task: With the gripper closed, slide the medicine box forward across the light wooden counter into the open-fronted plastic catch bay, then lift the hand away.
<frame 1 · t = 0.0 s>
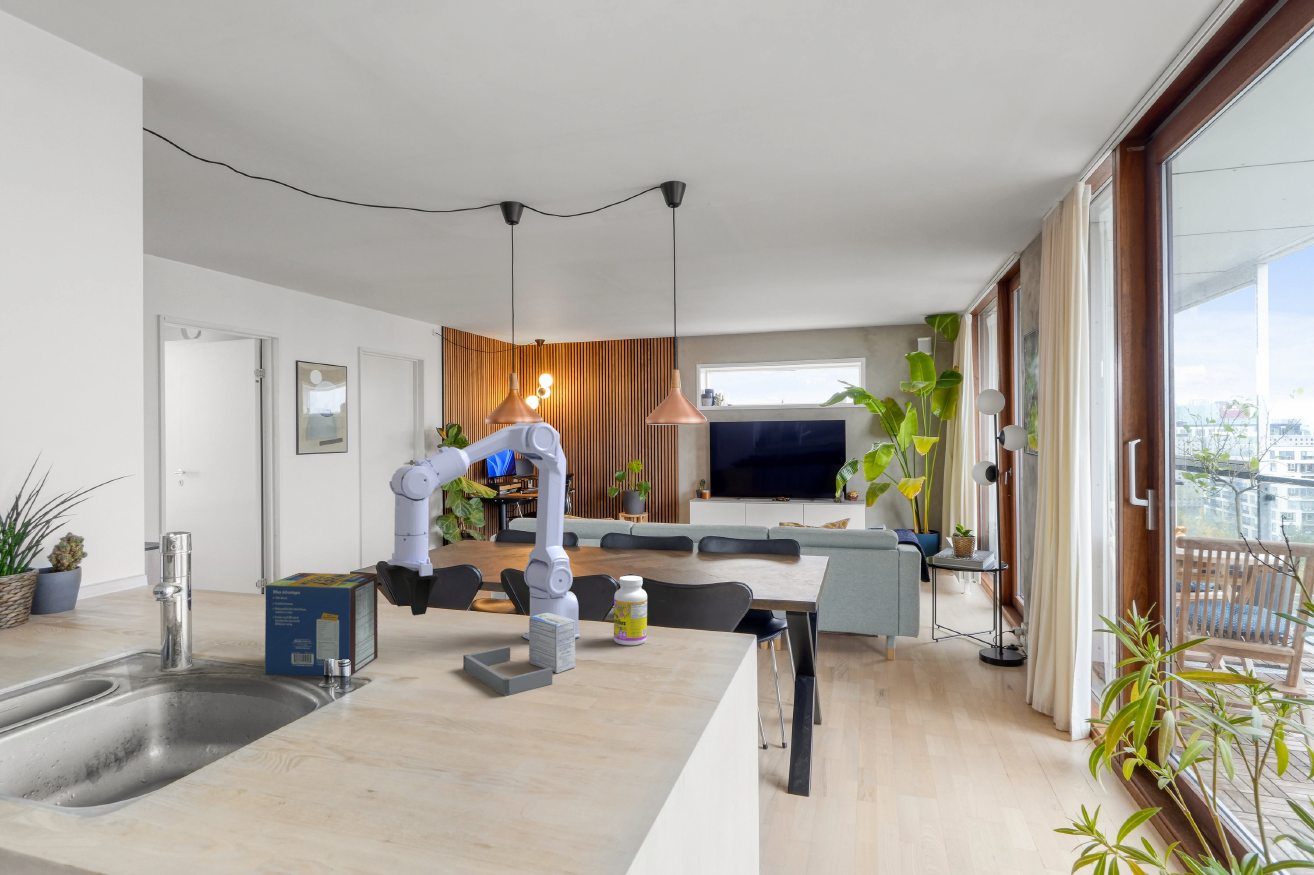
hand: (411, 609, 123), 10 cm above the counter, fingers open, 7 cm apart
supplement bottle: (630, 642, 139), on the counter
catch bay: (506, 676, 119), on the counter
medicine box: (551, 667, 124), on the counter
protein box: (322, 667, 123), on the counter
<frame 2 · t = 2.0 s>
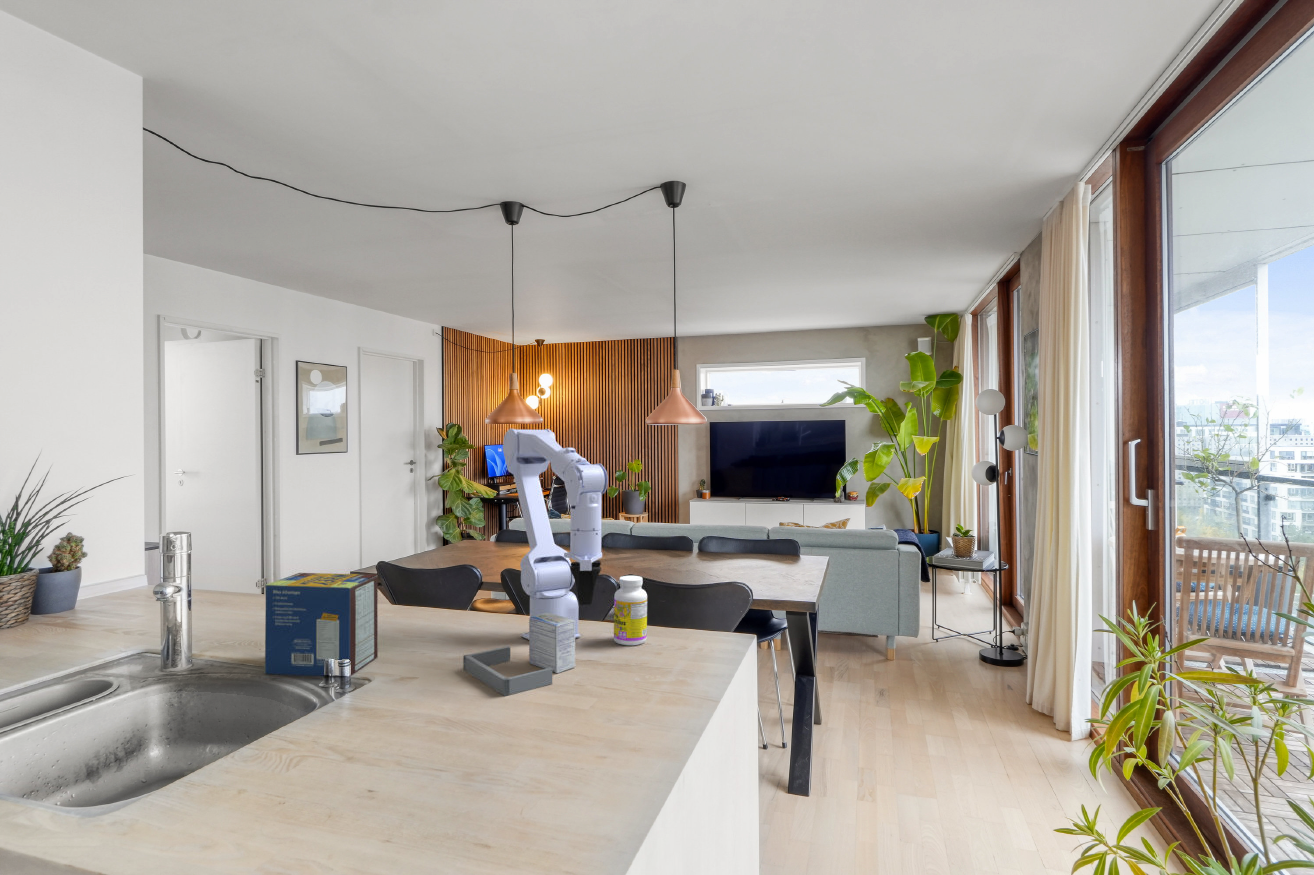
hand: (585, 602, 129), 10 cm above the counter, fingers closed
nothing on the counter moved.
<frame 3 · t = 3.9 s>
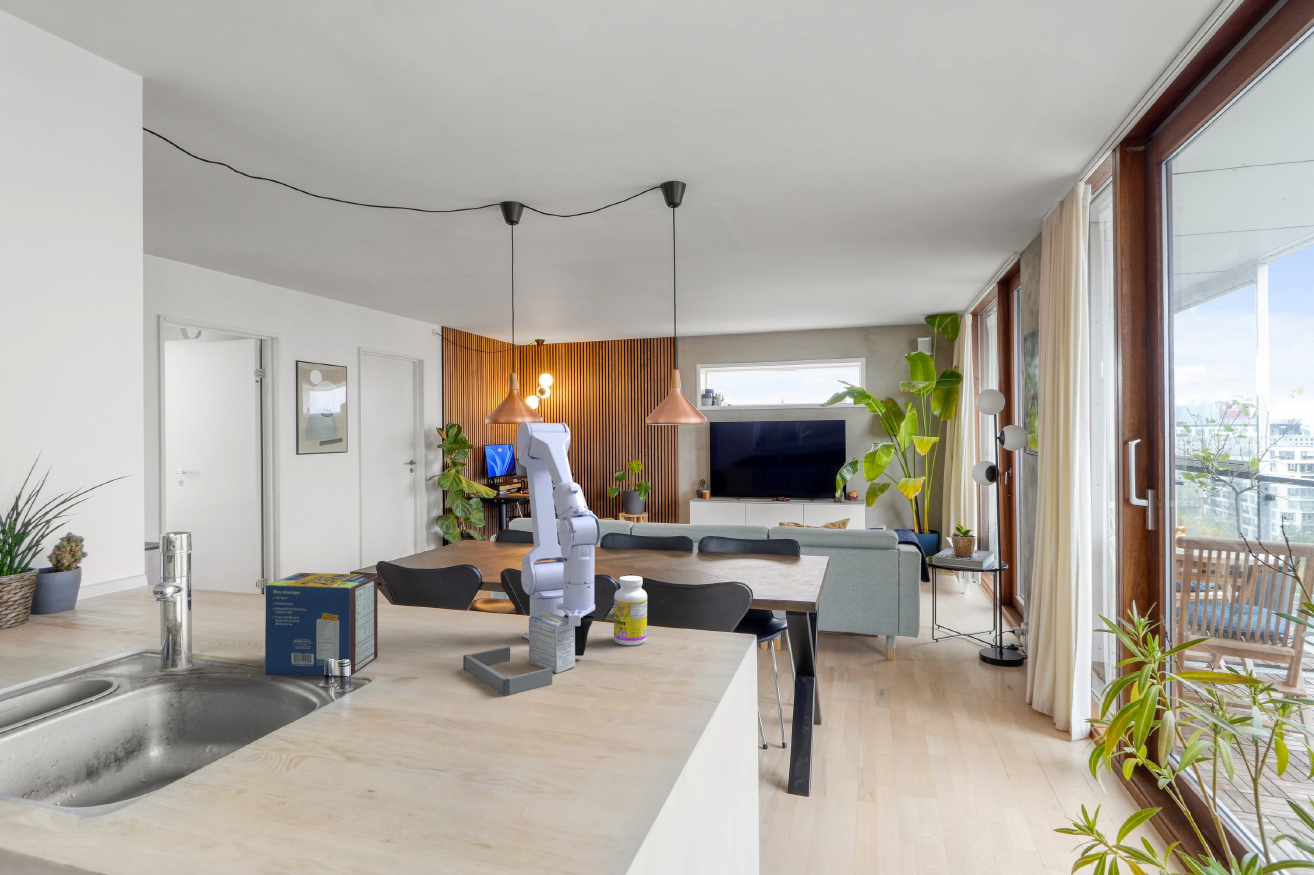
hand: (578, 654, 128), 1 cm above the counter, fingers closed
medicine box: (551, 666, 124), on the counter, touching gripper
everything else where it was.
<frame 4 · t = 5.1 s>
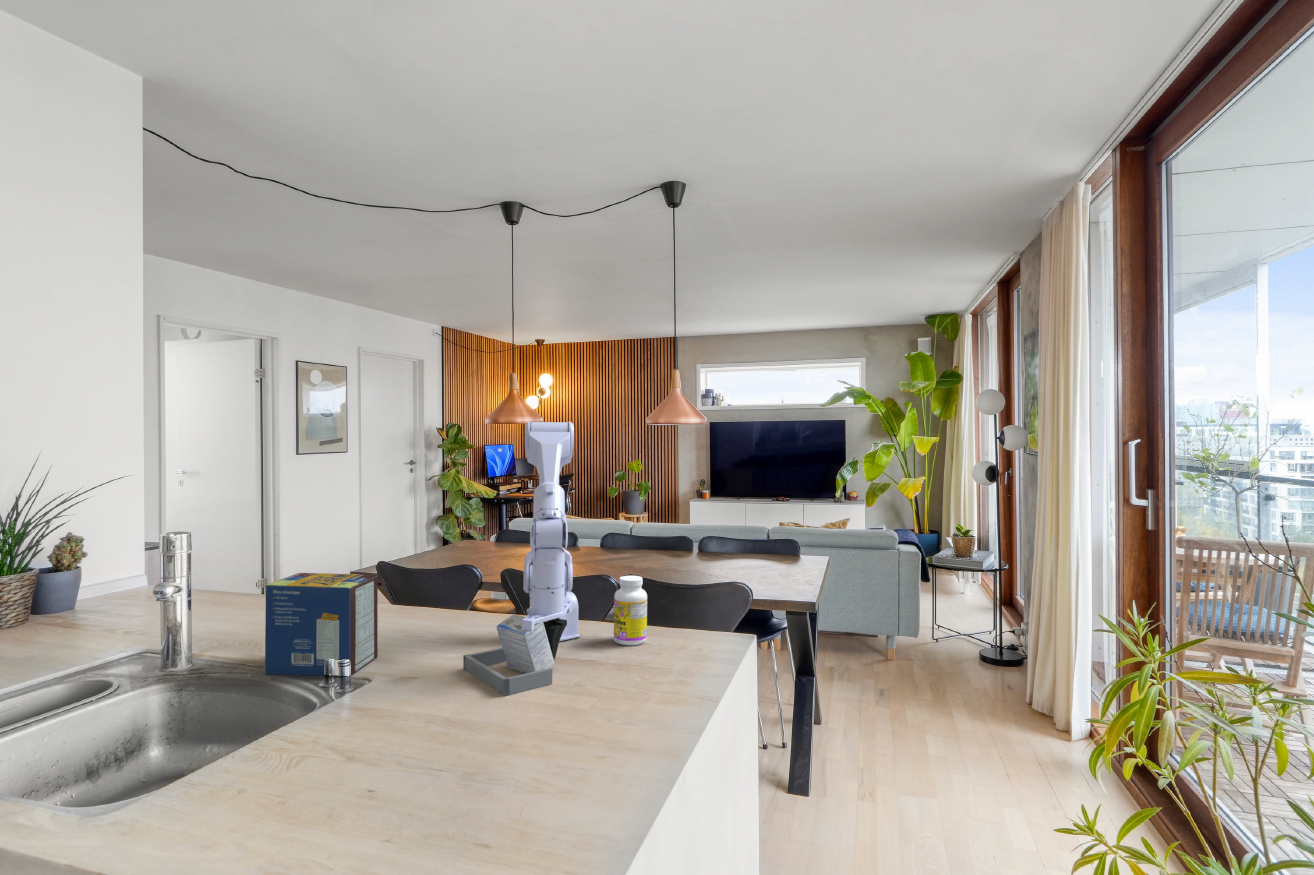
hand: (547, 661, 124), 1 cm above the counter, fingers closed
medicine box: (531, 667, 122), on the counter, touching gripper
everything else where it was.
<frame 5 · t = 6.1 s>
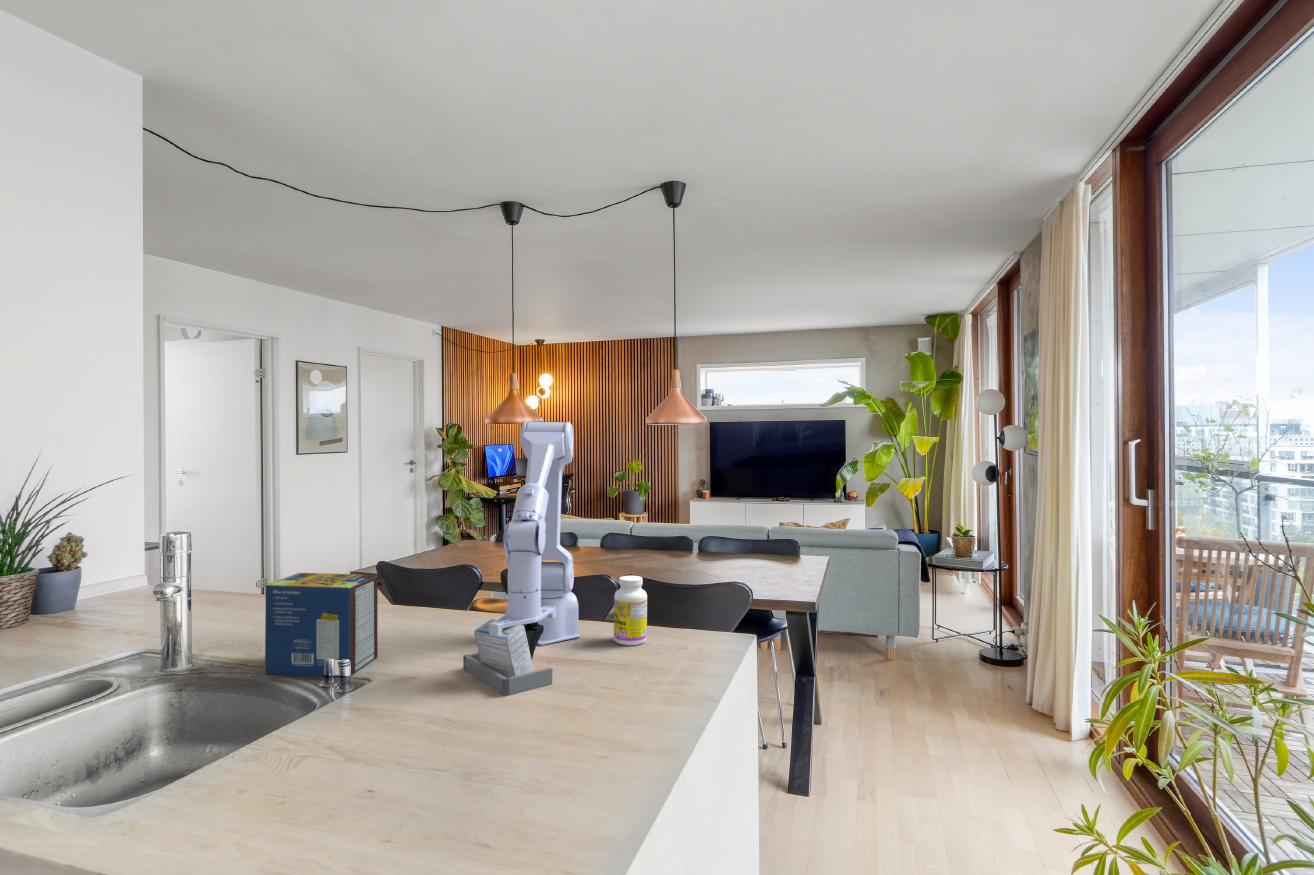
hand: (523, 667, 121), 1 cm above the counter, fingers closed, pressing on medicine box
medicine box: (508, 673, 119), on the counter, touching catch bay, gripper
everything else where it was.
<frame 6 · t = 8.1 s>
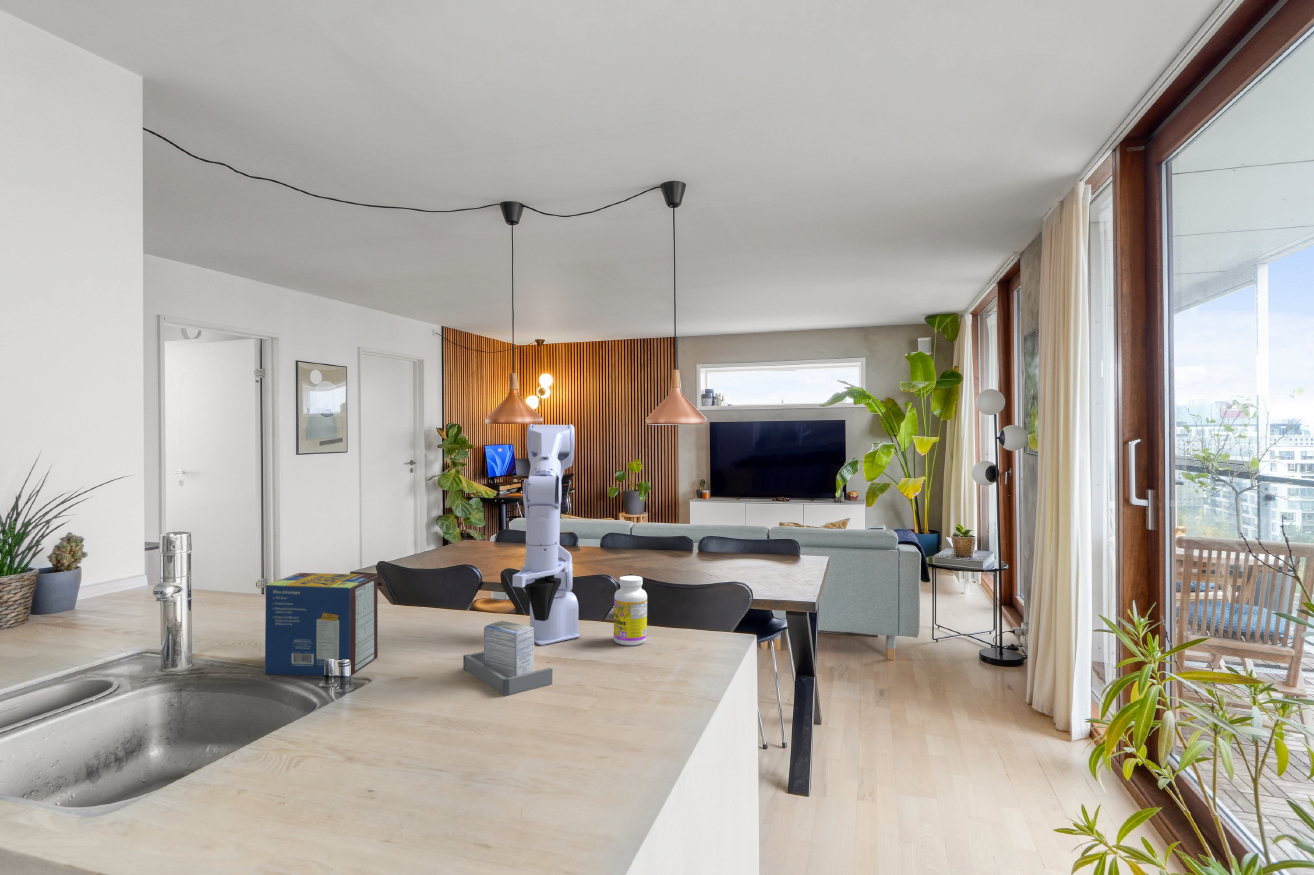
hand: (541, 619, 123), 9 cm above the counter, fingers closed
medicine box: (508, 677, 119), on the counter
everything else where it was.
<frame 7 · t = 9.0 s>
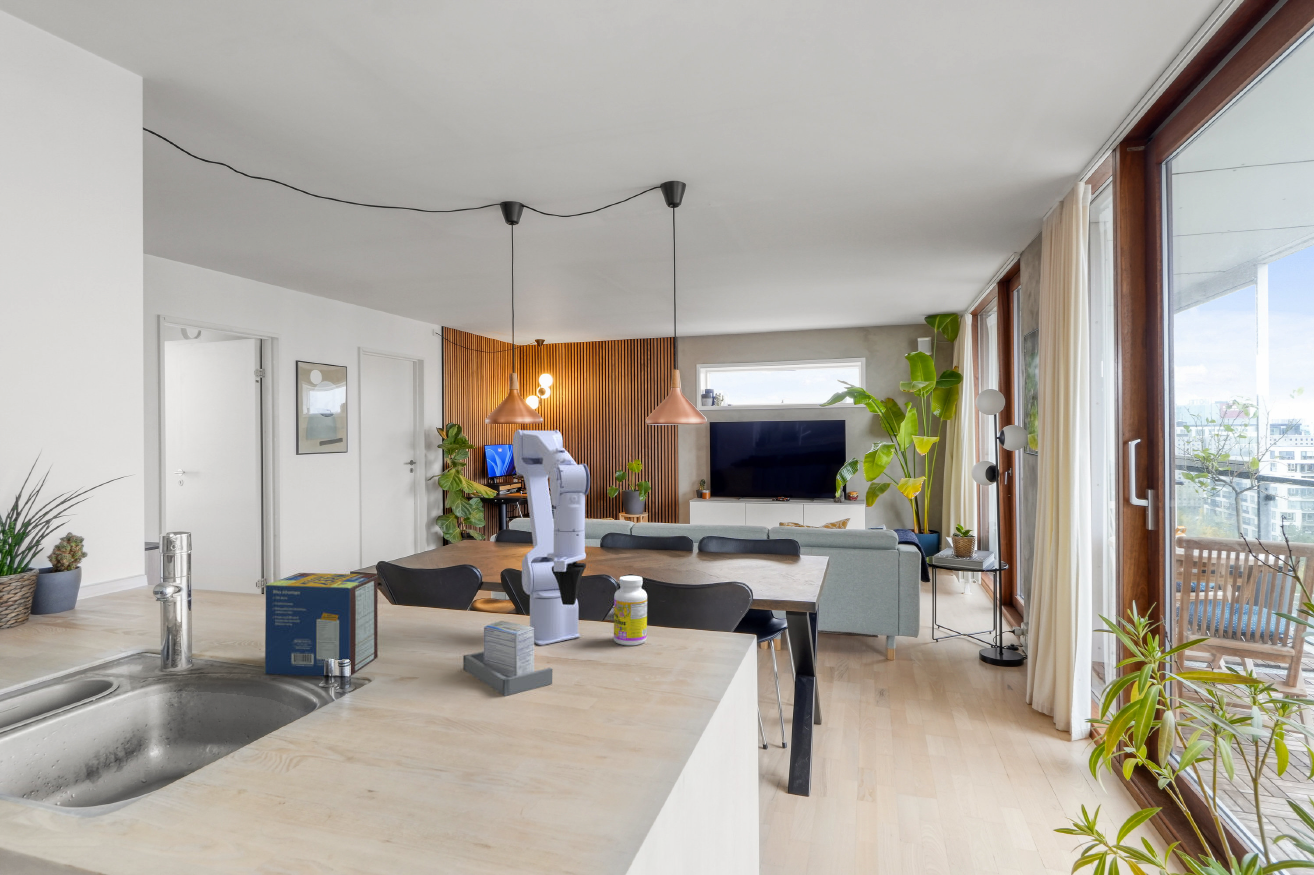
hand: (568, 603, 127), 10 cm above the counter, fingers closed
nothing on the counter moved.
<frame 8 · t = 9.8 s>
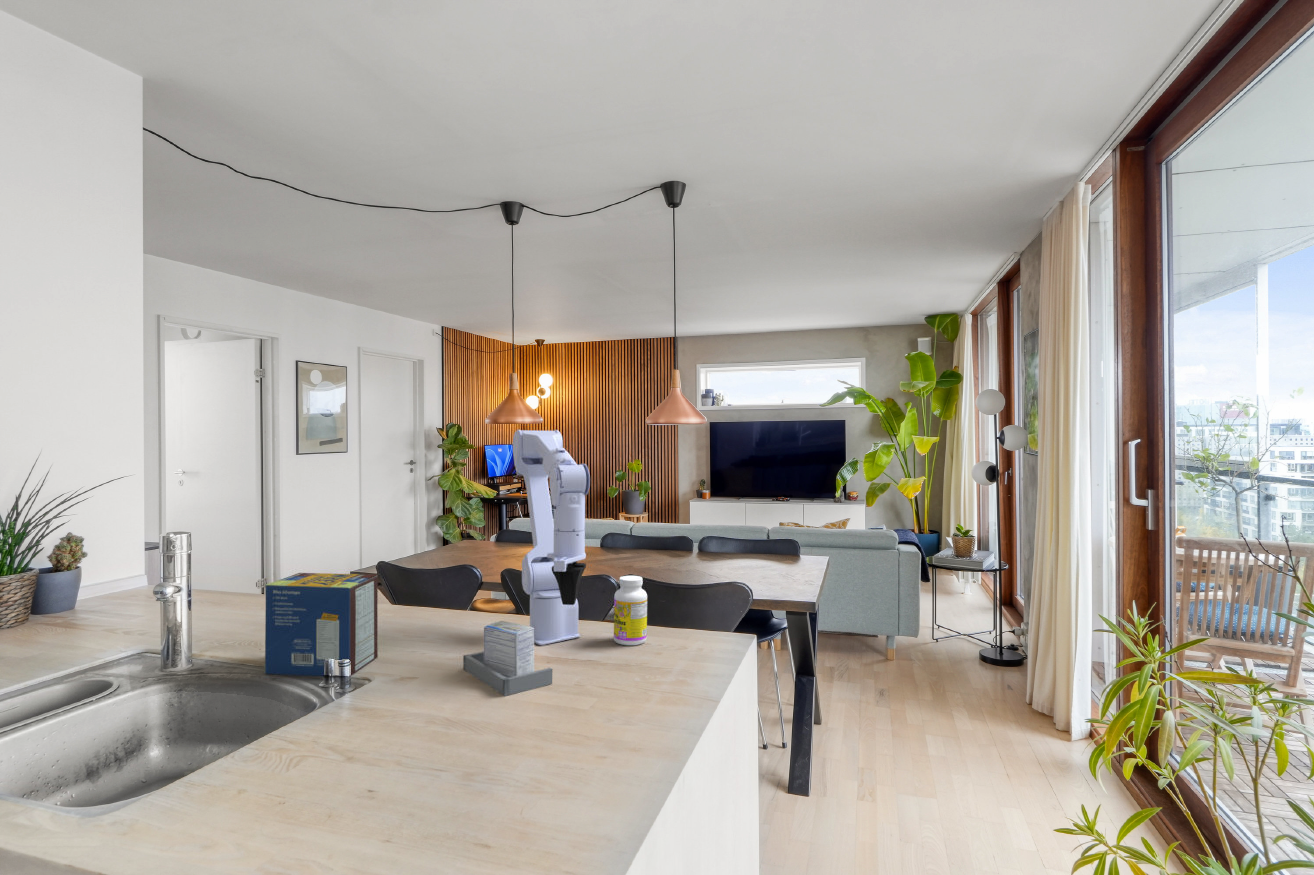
hand: (568, 603, 127), 10 cm above the counter, fingers closed
nothing on the counter moved.
at the end: medicine box inside the target area on the catch bay (0.4 cm from its centre), point 0.0 cm above the catch bay's base; medicine box tilted 0°; medicine box moved 8.6 cm from its start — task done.
